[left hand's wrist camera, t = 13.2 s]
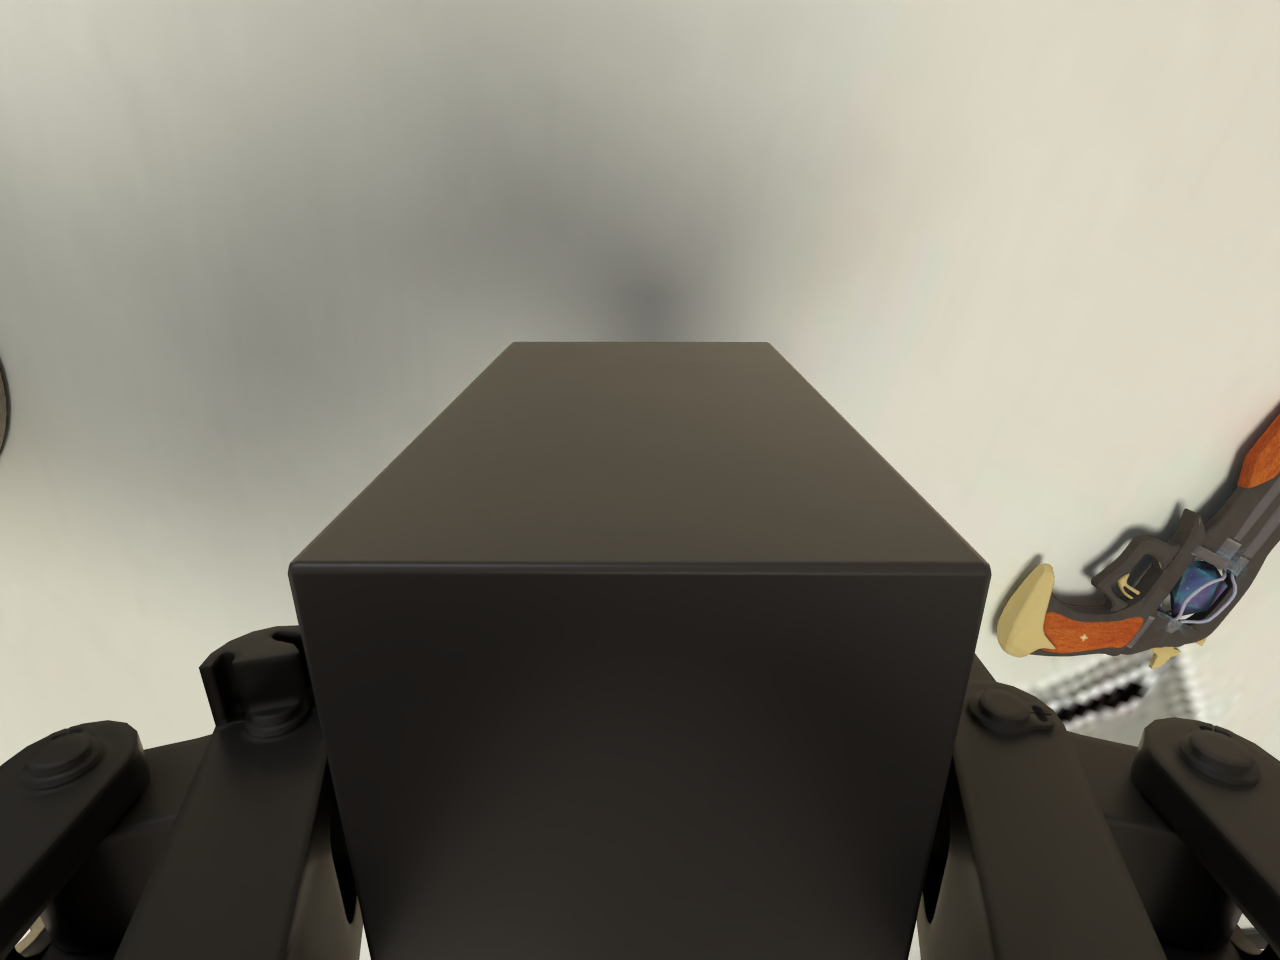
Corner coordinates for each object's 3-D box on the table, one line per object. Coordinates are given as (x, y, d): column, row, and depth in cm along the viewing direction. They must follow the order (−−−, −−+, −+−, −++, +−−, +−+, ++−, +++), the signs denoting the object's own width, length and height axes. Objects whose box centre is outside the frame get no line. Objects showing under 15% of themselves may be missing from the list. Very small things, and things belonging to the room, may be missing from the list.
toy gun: (997, 654, 36) (1158, 733, 36) (1236, 325, 31) (1420, 422, 31) (976, 630, 38) (1127, 704, 39) (1194, 323, 33) (1364, 412, 34)
